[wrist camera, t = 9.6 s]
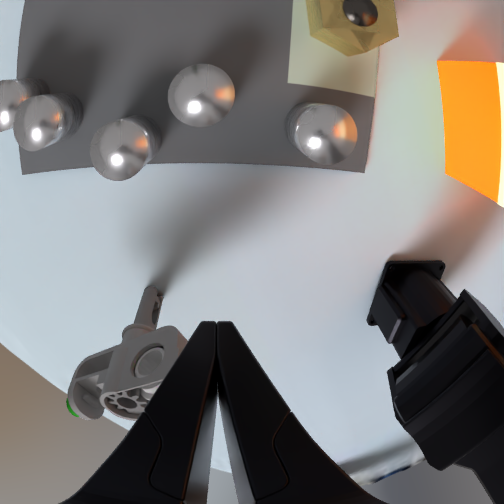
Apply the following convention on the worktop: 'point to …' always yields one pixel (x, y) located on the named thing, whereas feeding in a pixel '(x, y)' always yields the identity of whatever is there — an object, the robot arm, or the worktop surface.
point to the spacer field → (146, 130)
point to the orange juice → (474, 124)
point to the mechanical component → (127, 367)
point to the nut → (352, 24)
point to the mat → (180, 57)
